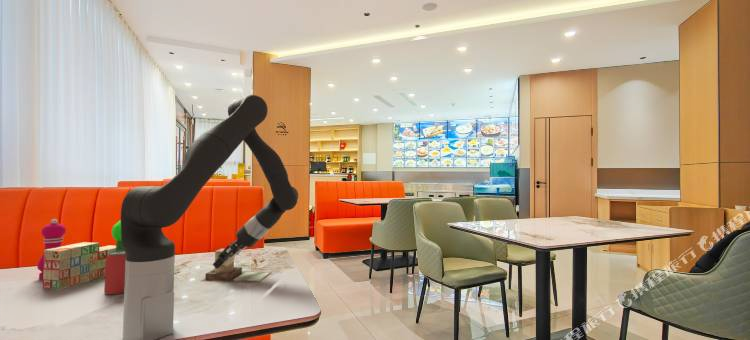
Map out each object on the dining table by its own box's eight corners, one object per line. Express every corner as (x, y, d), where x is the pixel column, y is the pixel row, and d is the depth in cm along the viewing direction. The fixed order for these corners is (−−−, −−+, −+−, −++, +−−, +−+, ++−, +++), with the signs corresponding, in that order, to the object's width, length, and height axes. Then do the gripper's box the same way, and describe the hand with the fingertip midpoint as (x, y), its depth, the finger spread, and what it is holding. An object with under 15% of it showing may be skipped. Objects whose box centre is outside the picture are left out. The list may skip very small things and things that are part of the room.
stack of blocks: (108, 269, 121) (109, 237, 121) (122, 270, 120) (124, 237, 121) (41, 289, 100) (43, 249, 100) (58, 290, 99) (60, 250, 99)
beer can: (99, 292, 97) (101, 253, 97) (125, 286, 103) (126, 248, 103) (110, 297, 94) (112, 255, 94) (136, 290, 100) (137, 251, 100)
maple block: (233, 274, 114) (234, 248, 114) (227, 278, 110) (227, 251, 110) (221, 273, 114) (221, 248, 115) (214, 277, 110) (215, 251, 110)
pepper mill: (43, 275, 113) (45, 218, 114) (70, 272, 116) (72, 217, 117) (32, 281, 107) (34, 220, 107) (60, 278, 110) (63, 219, 110)
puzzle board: (272, 274, 117) (272, 266, 117) (259, 285, 105) (259, 276, 105) (219, 273, 118) (219, 265, 118) (200, 284, 106) (200, 274, 106)
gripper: (255, 220, 119) (222, 252, 120) (236, 225, 105) (199, 261, 105) (268, 234, 119) (235, 266, 119) (252, 242, 105) (215, 278, 105)
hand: (219, 264), depth 112 cm, fingers closed on maple block, 4 cm apart
